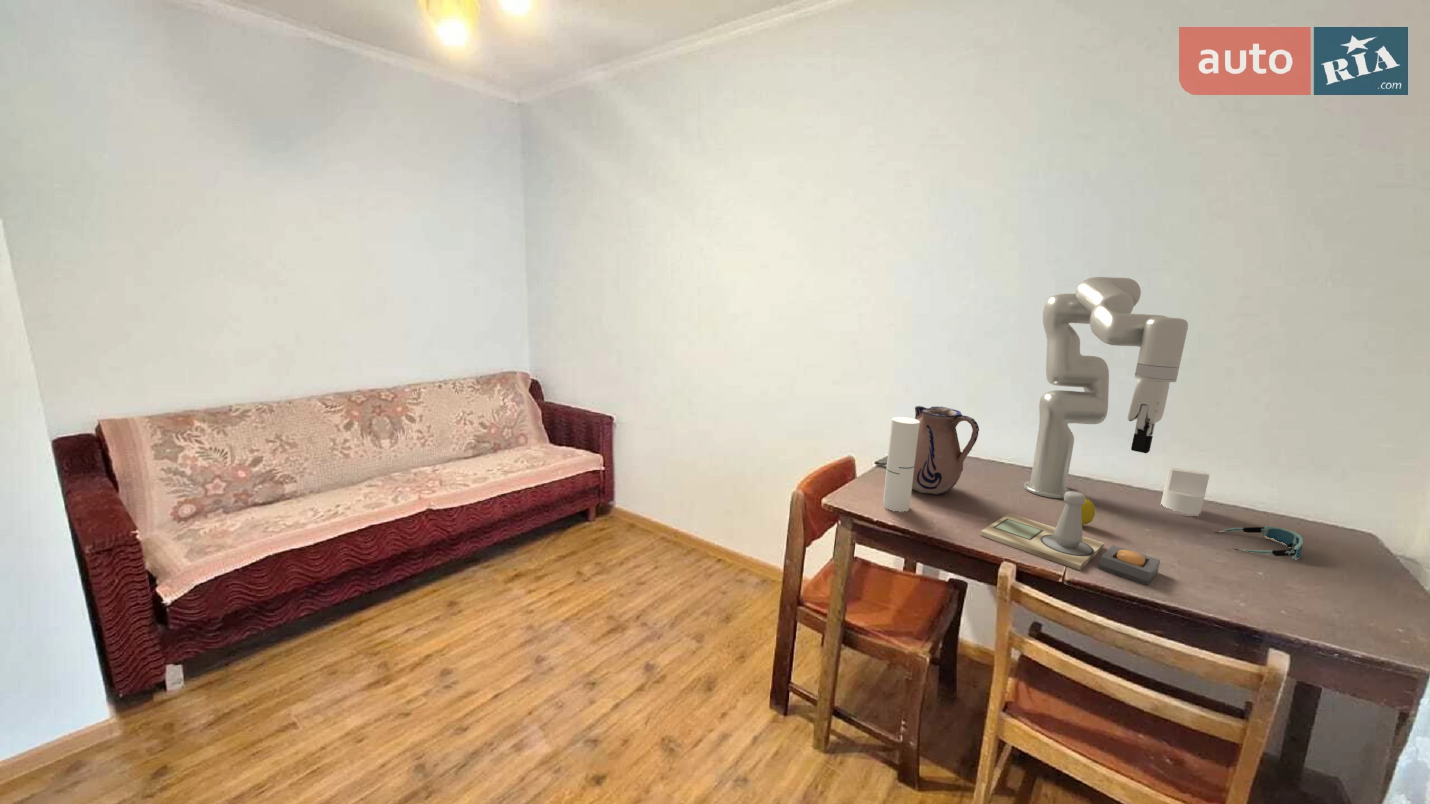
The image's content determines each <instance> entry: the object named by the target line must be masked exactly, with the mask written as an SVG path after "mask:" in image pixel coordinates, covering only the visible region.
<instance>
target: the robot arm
mask: <svg viewBox="0 0 1430 804" xmlns="http://www.w3.org/2000/svg"><path fill="white" fill-rule="evenodd" d="M1141 292H1142V291H1141V287H1140V285H1139V283H1138V282H1137V281H1136V280H1135V279H1133V278H1129V277H1110V276H1109V277H1108V276H1095V277H1089V278H1086V279H1084V280H1083V281H1081V282H1080V283H1079V284H1078V286H1077V287H1076V289H1075V293H1059V294H1055V295H1052V296H1050V297H1049V298H1047V300H1046V301H1045V304H1044V307H1043V311H1042V324H1043V329H1044V332H1045V335H1046V336H1045V337H1046V358H1045V359H1046V362H1045V364H1046V366H1045V373H1046V380H1047V382H1048V383H1049V384H1051V385H1053V386H1058V387H1067V388H1068V387H1069V388H1070V387H1071V388H1083V391H1075V390H1061V389H1059V390H1058V389H1057V390H1050V391H1047V392H1045V393H1044V394H1042V395H1041V397H1040V399H1039V403H1038V404H1039V406H1038V407H1039V408H1038V410H1039V412H1038V413H1039V421H1038V422H1039V423H1038V424H1039V425H1038V433H1037V440H1036V445H1035V452H1034V457H1033V464H1032V469H1031V476H1030V480H1026V481H1025V482H1024V483H1023V488H1024V489H1025V490H1026V491H1028V492H1030V493H1032V494H1035V495H1038V496H1041V497H1044V498H1045V497H1046V498H1052V499H1064V495H1065V493H1066V492H1068V491H1071V490H1070V489H1069V488H1067V483H1068V477H1069V474H1070V473H1069V471H1070V467H1071V461H1072V455H1073V450H1074V444H1075V435H1074V434H1073V432H1072V430H1071V429H1070V427H1069V425H1070V424H1080V425H1081V424H1083V425H1098V424H1101V423H1103V422H1104V421H1105V419H1106V418H1107V415H1108V410H1109V391H1110V389H1109V387H1110V370H1109V367H1108V366H1109V365H1108V364H1107V362H1106V360H1104V359H1103V358H1102V357H1100V356H1095V355H1083V354H1081V339H1080V336H1079V334H1078V333H1077V332H1076V330H1075V329H1074V327H1073V326H1072V325H1071V324H1082V325H1083V324H1085V325H1087V324H1088V325H1089V326H1090V330H1091V333H1092V334H1093V335H1094V336H1096V337H1097V339H1099V340H1100V341H1101V342H1103V343H1104V344H1107V345H1110V346H1118V347H1119V346H1121V347H1122V346H1123V347H1124V346H1125V347H1138V348H1139V353H1138V357H1137V363H1136V368H1135V373H1134V378H1135V379H1138V380H1137V382H1136V385H1135V387H1134V390H1133V395H1132V399H1131V403H1130V405H1129V406H1130V407H1129V411H1128V415H1127V420H1128V421H1129V422H1133V421H1135V420H1136V424H1135V428H1134V429H1135V430H1134V434H1133V438H1132V443H1131V447H1130V450H1131V451H1134V452H1137V453H1142V454H1143V453H1144V454H1148V453H1149V452H1151V450H1150V449H1151V446H1152V441H1153V438H1154V437H1153V434H1154V431H1155V426H1156V423H1158V422H1160V421H1161V420H1162V418H1163V416H1164V412H1165V408H1166V404H1167V399H1168V393H1169V389H1170V383H1177V379H1178V375H1179V370H1180V367H1181V361H1182V357H1183V352H1184V347H1185V343H1186V338H1187V334H1188V333H1187V332H1188V330H1189V322H1188V321H1187V320H1186V319H1184V318H1180V317H1169V316H1166V315H1160V314H1146V313H1145V314H1143V313H1132V311H1133V309H1134V308H1135V306H1136V305H1138V303H1139V301H1140V298H1141V294H1142V293H1141Z"/></svg>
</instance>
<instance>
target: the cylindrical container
mask: <svg viewBox="0 0 1430 804" xmlns="http://www.w3.org/2000/svg"><path fill="white" fill-rule="evenodd" d="M919 423H920V421H918V420H916V419H915V418H911V417H905V416H896V417H895V416H894V417H892V418H891V423H890V424H891V425H890V433H889V435H890V436H889V443H888V451H887V460H886V461H887V462H886V469H885V480H884V490H883V497H882V498H883V500H882V507H883V506H884V507H885V508H884V507H883V508H884V509H886V508H887V509H886V510H888V509H889V510H888V511H890V510H892V511H891V512H895V511H899V512H898V513H905V512H904V511H906V512H908V511H910V506H911V498H912V482H913V474H914V465H915V457H916V448H917V440H918V432H919ZM902 511H903V512H902Z"/></svg>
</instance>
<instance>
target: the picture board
mask: <svg viewBox="0 0 1430 804" xmlns="http://www.w3.org/2000/svg"><path fill="white" fill-rule="evenodd" d="M1055 528H1056V526H1052V525H1048V524H1046V523H1042V522H1038V521H1035V520H1033V519H1030V518H1026V517H1023V516H1020V515H1016V514H1013V513H1011V512H1010V513H1008V514H1006V515H1005V516H1003V517H1001V518H1000V519H998V520H996V521H995V522H993V523H991V524H990V525H988V526H986V527H985V528H983V529H981V530H980V533H979V534H980V536H981V537H983V538H987V539H990V540H992V541H996V542H998V543H1000V544H1004V545H1007V546H1009V547H1012V548H1015V549H1018V550H1020V551H1024V552H1025V553H1030V554H1032V555H1035V556H1038V557H1040V558H1042V559H1046V560H1048V561H1051V562H1054V563H1057V564H1060V565H1063V566H1066V567H1068V568H1072V569H1074V570H1076V571H1081V570H1082V569H1083V568H1084V567H1085V566H1086V565H1087V564H1088V563H1090V561H1091V560H1092V559H1094V557H1095V556H1097V554H1099V552H1101V551H1102V550H1103V549H1104V548H1103V547H1105V542H1102V541H1099V540H1097V539H1094V538H1093V539H1092V538H1089V537H1087V536H1085V535H1084V536H1083V535H1082V541H1081V542H1080V543H1079V545H1078V546H1077V547H1075V548H1068V547H1063V546H1061V545H1059V544H1058V543H1056V539H1055V536H1054V531H1055ZM1101 549H1102V550H1101Z"/></svg>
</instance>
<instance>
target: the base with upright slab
mask: <svg viewBox="0 0 1430 804" xmlns="http://www.w3.org/2000/svg"><path fill="white" fill-rule="evenodd" d="M1209 480H1210V473H1209V472H1207V471H1203V470H1202V471H1201V470H1193V469H1187V468H1178V467H1177V468H1176V467H1168V469H1167V474H1166V479H1165V484H1164V488H1163V493H1162V497H1161V501H1160V505H1161V504H1162V505H1163V506H1164V507H1166V508H1169V509H1172V510H1173V511H1179V512H1182V513H1186V514H1199V513H1200V514H1201V513H1202V509H1203V504H1204V501H1205V497H1206V496H1205V495H1206V492H1207V487H1208V483H1209Z"/></svg>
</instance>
